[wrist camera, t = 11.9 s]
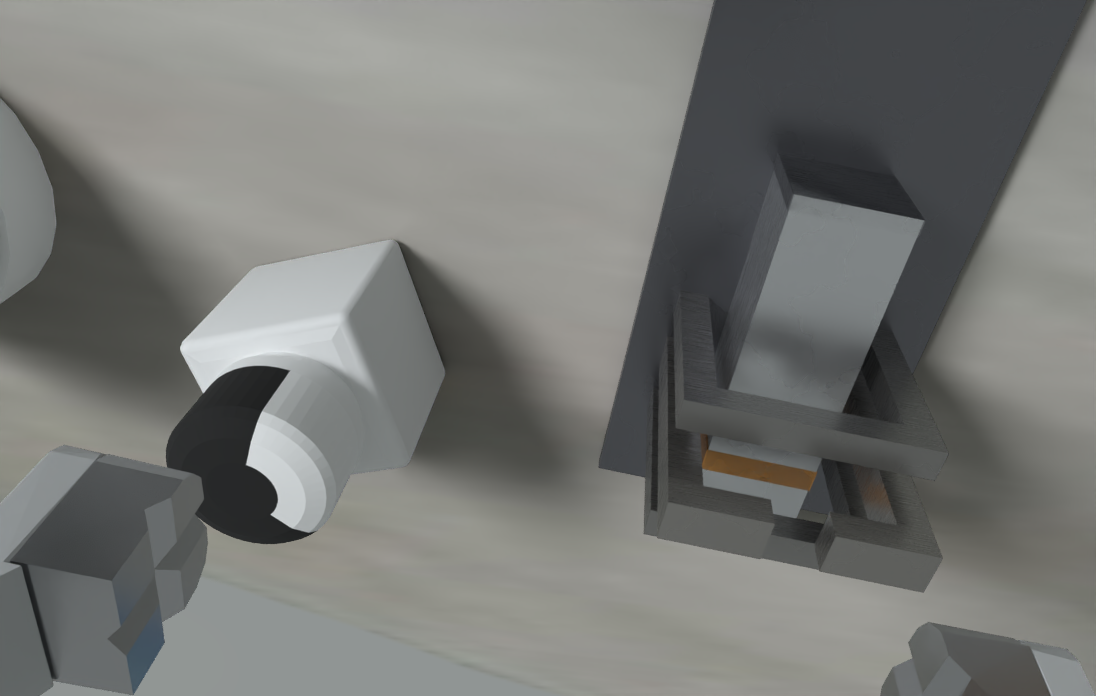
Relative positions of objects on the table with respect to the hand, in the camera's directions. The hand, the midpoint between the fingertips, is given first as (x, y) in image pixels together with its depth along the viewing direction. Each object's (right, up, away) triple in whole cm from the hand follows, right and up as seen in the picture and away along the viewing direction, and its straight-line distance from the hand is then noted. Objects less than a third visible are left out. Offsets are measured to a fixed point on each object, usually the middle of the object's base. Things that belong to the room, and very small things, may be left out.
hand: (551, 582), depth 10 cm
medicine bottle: (-9, +4, +30) cm, 31 cm away
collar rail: (+10, +7, +25) cm, 28 cm away
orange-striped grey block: (+9, +3, +27) cm, 29 cm away
